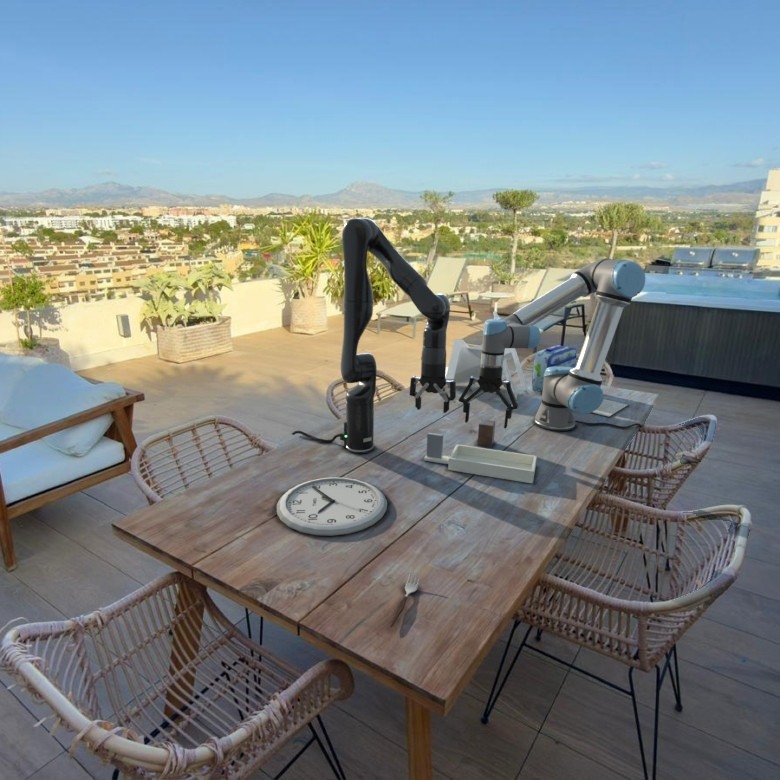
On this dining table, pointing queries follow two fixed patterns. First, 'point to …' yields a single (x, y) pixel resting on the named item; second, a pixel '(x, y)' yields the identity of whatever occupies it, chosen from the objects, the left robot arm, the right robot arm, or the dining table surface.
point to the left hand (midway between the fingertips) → (431, 410)
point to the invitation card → (609, 407)
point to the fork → (409, 589)
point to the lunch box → (551, 363)
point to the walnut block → (486, 433)
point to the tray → (482, 460)
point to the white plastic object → (479, 363)
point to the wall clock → (331, 506)
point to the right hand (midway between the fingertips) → (485, 424)
